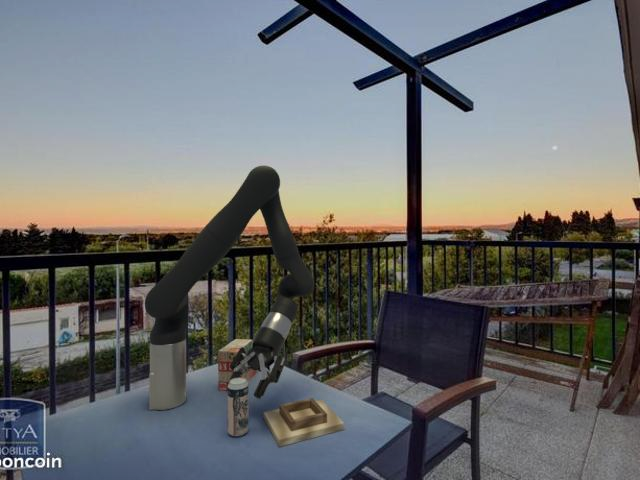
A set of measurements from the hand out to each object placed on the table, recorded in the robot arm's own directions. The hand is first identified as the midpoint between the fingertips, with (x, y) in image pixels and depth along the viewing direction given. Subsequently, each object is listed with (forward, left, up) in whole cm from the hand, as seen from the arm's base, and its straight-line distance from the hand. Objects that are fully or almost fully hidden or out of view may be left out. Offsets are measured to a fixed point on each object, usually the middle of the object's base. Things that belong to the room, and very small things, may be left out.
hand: (243, 393), depth 80 cm
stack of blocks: (+6, +31, -9) cm, 32 cm away
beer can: (-1, -1, -9) cm, 9 cm away
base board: (+14, -4, -8) cm, 17 cm away
